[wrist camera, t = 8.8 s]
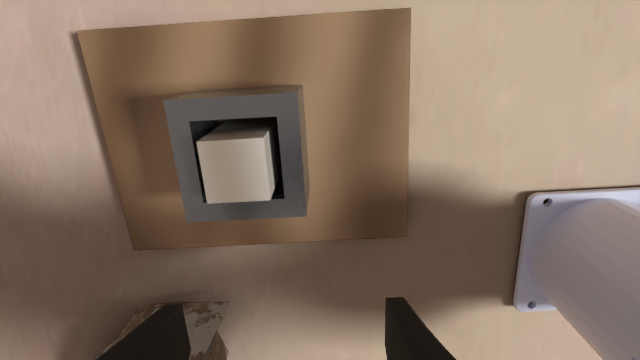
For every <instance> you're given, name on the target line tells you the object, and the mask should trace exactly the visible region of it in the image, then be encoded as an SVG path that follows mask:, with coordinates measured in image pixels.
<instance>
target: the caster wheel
mask: <svg viewBox="0 0 640 360" xmlns="http://www.w3.org/2000/svg"><path fill="white" fill-rule="evenodd" d="M173 304H182V307H183V312H184V317H185V322H186V327H187V331H188V336H189V341H190V346H191V353H190V356H189V359H188V360H227V356H228V353H229V351H228V350H227V348H226V346H225V344H224V343H223V341H222V339H221V337H220V335H219V334H218V332H217V329H218V327H219V325H220V323H221V321H222V319H223V317H224V315H225V313H226V311H227V309H228V307H229V302H202V303H173ZM164 305H165V304H150V305H144V306H141V307H140V308H139V309H138V311H137V312H136V313H135V315H134V316H133V317H132V319H131V320H130V321H129V323H128V324H127V325H126V327H125V328H124V329H123V331H122V332H121V333H120V335H119V336H118V337H117V339H116V340H115V341H114V342H112V343H111V344H110V345H109V346H107V347H106V348H105V349H104V350H103V351H102V352H101V353H100V354H99V355H98V356H97V357H96V359H97V358H98V357H99V356H101V355H102V354H103V353H105V352H106V351H107V350H109V349H110V348H111V347H113V346H114V345H115V344H116V343H118V342H119V341H120V340H121V339H123V338H124V337H125V336H126V335H128V334H129V333H130V332H131V331H133V330H134V329H135V328H136V327H137V326H139V325H140V324H141V323H142V322H144V321H145V320H146V319H147V318H148V317H150V316H151V315H152V314H153V313H155V312H156V311H157V310H158V309H160V308H161V307H162V306H164Z"/></svg>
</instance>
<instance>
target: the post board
mask: <svg viewBox="0 0 640 360" xmlns="http://www.w3.org/2000/svg"><path fill="white" fill-rule="evenodd" d="M410 33H411V8H400V9H386V10H372V11H357V12H343V13H328V14H314V15H299V16H285V17H270V18H256V19H242V20H227V21H213V22H198V23H184V24H169V25H155V26H140V27H126V28H112V29H97V30H83V31H77V34H78V38H79V42H80V46H81V50H82V53H83V57H84V61H85V65H86V69H87V73H88V76H89V80H90V84H91V88H92V92H93V96H94V99H95V103H96V107H97V111H98V115H99V119H100V122H101V126H102V130H103V134H104V138H105V142H106V145H107V149H108V153H109V157H110V161H111V165H112V168H113V172H114V176H115V180H116V184H117V188H118V191H119V195H120V199H121V203H122V207H123V211H124V215H125V218H126V222H127V226H128V230H129V234H130V238H131V241H132V245H133V249H134V250H152V249H172V248H192V247H212V246H232V245H252V244H272V243H292V242H311V241H331V240H351V239H371V238H391V237H407V200H408V144H409V88H410ZM289 85H303V94H304V108H305V122H306V137H307V151H308V165H309V179H310V190H309V199H308V209H307V217H288V218H267V219H246V220H225V221H204V222H187V221H186V216H185V211H184V206H183V201H182V196H181V190H180V185H179V180H178V175H177V170H176V165H175V160H174V155H173V149H172V144H171V139H170V134H169V129H168V124H167V119H166V114H165V108H164V103H163V100H165V99H169V98H172V97H176V96H180V95H183V94H187V93H190V92H194V91H203V90H220V89H237V88H255V87H272V86H289ZM218 121H219V127H217V128H216V129H215V130H213V131H212V132H210V133H209V134H207V135H206V136H204V137H203V138H201V139H200V140H198V141H197V142H196V143H197V148H198V154H199V160H200V165H201V171H202V176H203V182H204V188H205V193H206V199H207V204H212V203H230V202H249V201H267V200H271V197H272V194H273V192H274V189H275V186H276V184H277V181H278V178H279V175H280V173H281V172H282V165H281V155H280V144H279V134H278V123H277V116H276V117H258V118H240V119H222V120H218Z"/></svg>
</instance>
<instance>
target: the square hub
mask: <svg viewBox="0 0 640 360" xmlns="http://www.w3.org/2000/svg"><path fill="white" fill-rule="evenodd" d="M163 103H164V108H165V114H166V119H167V124H168V129H169V134H170V139H171V144H172V149H173V155H174V160H175V165H176V170H177V175H178V180H179V185H180V190H181V196H182V201H183V206H184V211H185V216H186V221H187V222H204V221H225V220H246V219H267V218H288V217H307V209H308V199H309V190H310V179H309V165H308V151H307V137H306V122H305V108H304V94H303V85H289V86H272V87H255V88H237V89H220V90H203V91H194V92H190V93H187V94H183V95H180V96H176V97H172V98H169V99H165V100H163ZM276 116H277V123H278V134H279V144H280V155H281V165H282V172H281V173H280V175H279V178H278V181H277V184H276V186H275V189H274V192H273V194H272V197H271V200H267V201H249V202H230V203H212V204H207V199H206V193H205V188H204V182H203V176H202V171H201V165H200V160H199V154H198V148H197V143H196V142H197V141H198V140H200V139H201V138H203V137H204V136H206V135H207V134H209V133H210V132H212V131H213V130H215V129H216V128H217V127H219V121H218V120H222V119H240V118H258V117H276Z"/></svg>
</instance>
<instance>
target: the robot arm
mask: <svg viewBox="0 0 640 360" xmlns="http://www.w3.org/2000/svg"><path fill="white" fill-rule="evenodd" d="M547 198H548V202H547V203H546V204H543V201H544V200H545V199H547ZM530 302H532V303H531V304H529V303H530ZM528 304H529V305H528ZM513 305H514V307H515V308H516V309H517V310H518V311H521V312H527V311H550V310H558V311H559V312H560V313H561V314H562V315H563V316H564V318H565V319H566V320H567V321H568V322H569V323H570V324H571V325H572V326H573V327H574V328H575V330H576V331H577V332H578V333H579V334H580V335H581V336H582V337H583V338H584V339H585V340H586V342H587V343H588V344H589V345H590V346H591V347H592V348H593V349H594V350H595V351H596V352H597V354H598V355H599V356H600V357H601V358H602V359H603V360H640V187H632V188H613V189H594V190H576V191H557V192H538V193H533V194H531V195H530V196H529V197H528V198H527V202H526V209H525V217H524V224H523V231H522V239H521V246H520V254H519V261H518V269H517V276H516V284H515V291H514V299H513ZM385 348H386V354H387V360H456V359H455V358H454V357H453V356H452V355H451V354H450V353H449V352H448V351H447V350H446V348H445V347H444V346H443V345H442V344H441V343H440V342H439V341H438V340H437V338H436V337H435V336H434V335H433V334H432V333H431V331H430V330H429V329H428V328H427V327H426V326H425V324H424V323H423V322H422V320H421V319H420V318H419V317H418V315H417V314H416V313H415V311H414V310H413V309H412V307H411V306H410V305H409V303H408V302H407V300H406V299H405V298H404V297H396V298H386V312H385ZM190 353H191V346H190V341H189V336H188V331H187V327H186V322H185V317H184V312H183V307H182V304H165V305H164V306H162V307H161V308H160V309H158V310H157V311H156V312H155V313H153V314H152V315H151V316H150V317H148V318H147V319H146V320H145V321H144V322H142V323H141V324H140V325H139V326H137V327H136V328H135V329H134V330H133V331H131V332H130V333H129V334H128V335H126V336H125V337H124V338H123V339H121V340H120V341H119V342H118V343H116V344H115V345H114V346H113V347H111V348H110V349H109V350H107V351H106V352H105V353H103V354H102V355H101V356H99V357H98V358H97V359H95V360H188V359H189V356H190Z"/></svg>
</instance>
